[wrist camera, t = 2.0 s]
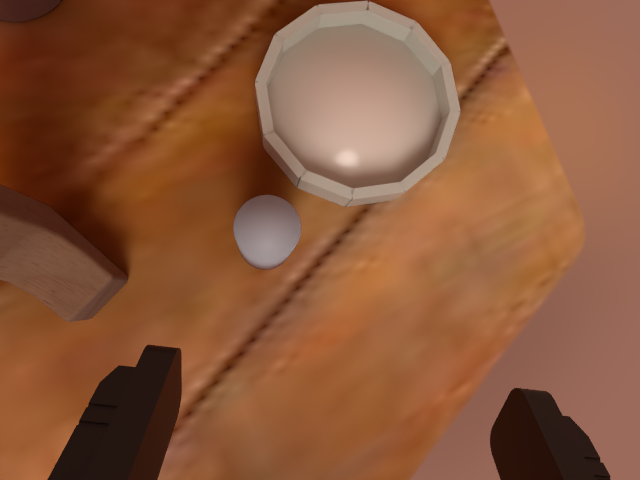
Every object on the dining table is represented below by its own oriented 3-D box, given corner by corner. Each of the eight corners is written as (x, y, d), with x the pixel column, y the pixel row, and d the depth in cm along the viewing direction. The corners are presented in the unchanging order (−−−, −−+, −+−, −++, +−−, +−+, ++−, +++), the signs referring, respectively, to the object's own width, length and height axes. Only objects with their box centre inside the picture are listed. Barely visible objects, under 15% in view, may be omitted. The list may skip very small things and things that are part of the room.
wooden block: (131, 278, 38) (18, 261, 20) (90, 321, 37) (-67, 342, 19) (48, 204, 38) (-140, 119, 20) (4, 244, 37) (-232, 194, 19)
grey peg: (231, 258, 39) (223, 246, 30) (250, 210, 40) (248, 184, 31) (280, 277, 39) (287, 270, 30) (298, 229, 40) (310, 209, 31)
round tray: (228, 161, 40) (226, 150, 37) (298, -6, 43) (301, -29, 40) (410, 232, 41) (422, 227, 38) (466, 66, 44) (481, 49, 41)
